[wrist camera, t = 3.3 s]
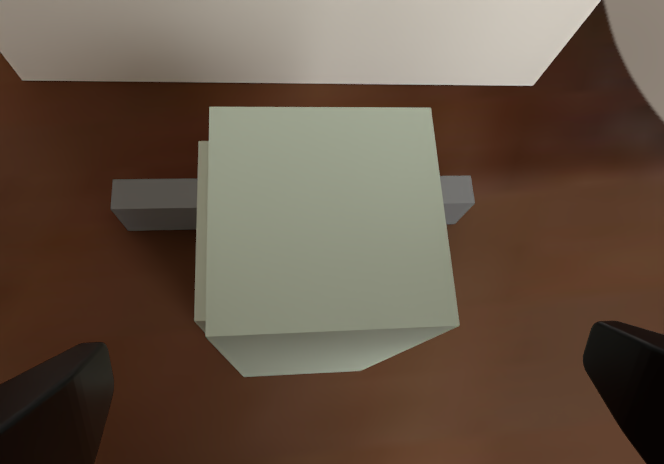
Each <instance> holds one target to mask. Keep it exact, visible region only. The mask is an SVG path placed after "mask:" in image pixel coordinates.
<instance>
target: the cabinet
mask: <svg viewBox="0 0 664 464" xmlns="http://www.w3.org/2000/svg"><path fill="white" fill-rule="evenodd" d="M194 321H195V323H196V324H197V325H198V326H199V327H200V328H201V329H202V330H203V331H204V332H205V337H206V338H207V339H208V340H209V341H210V342H211V343H212V344H213V345H214V346H215V347H216V349H217V350H218V351H219V352H220V353H221V354H222V355H223V356H224V357H225V358H226V359H227V360H228V361H229V362H230V363H231V364H232V365H233V366H234V367H235V368H236V369H237V370H238V371H239V373H240V374H241V375H242V376H243V377H254V376H272V375H291V374H310V373H329V372H348V371H361V370H363V369H366V368H368V367H370V366H372V365H374V364H377V363H379V362H381V361H383V360H385V359H388V358H390V357H392V356H394V355H396V354H399V353H401V352H403V351H405V350H407V349H410V348H412V347H414V346H416V345H418V344H420V343H423V342H425V341H427V340H429V339H431V338H434V337H436V336H438V335H440V334H442V333H445V332H447V331H449V330H451V329H453V328H456V327H458V326H460V325H459V317H458V310H457V302H456V294H455V287H454V279H453V272H452V264H451V257H450V249H449V242H448V234H447V227H446V219H445V211H444V204H443V196H442V189H441V181H440V174H439V166H438V159H437V151H436V143H435V136H434V128H433V121H432V113H431V108H373V107H209V141H199V142H198V183H197V224H196V265H195V305H194Z"/></svg>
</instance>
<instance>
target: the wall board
mask: <svg viewBox="0 0 664 464" xmlns="http://www.w3.org/2000/svg"><path fill="white" fill-rule="evenodd" d="M600 1H601V0H0V52H1V53H2V55H3V56H4V57H5V59H6V60H7V61H8V63H9V64H10V65H11V66H12V68H13V69H14V70H15V72H16V73H17V74H18V76H19V77H20V78H21V79H22V81H119V82H217V83H314V84H411V85H508V86H533V85H534V84H535V82H536V81H537V80H538V79H539V77H540V76H541V75H542V74H543V72H544V71H545V70H546V69H547V67H548V66H549V65H550V64H551V62H552V61H553V60H554V59H555V57H556V56H557V55H558V54H559V52H560V51H561V50H562V48H563V47H564V46H565V45H566V43H567V42H568V41H569V40H570V38H571V37H572V36H573V35H574V33H575V32H576V31H577V30H578V28H579V27H580V26H581V25H582V23H583V22H584V21H585V20H586V18H587V17H588V16H589V15H590V13H591V12H592V11H593V9H594V8H595V7H596V6H597V4H598V3H599V2H600ZM440 181H441V189H442V196H443V204H444V211H445V219H446V224H455V223H456V222H457V221H458V220H459V219H460V218H461V217H462V216H463V215H464V214H465V213H466V212H467V211H468V210H469V209H470V208H471V207H472V206H473V205H474V204H475V201H474V195H473V188H472V181H471V176H440ZM197 183H198V179H113V184H112V197H111V210H112V212H113V213H114V214H115V215H116V216H117V218H118V219H119V220H120V221H121V223H122V224H123V225H124V226H125V228H126V229H127V230H128V231H145V230H192V229H196V224H197Z"/></svg>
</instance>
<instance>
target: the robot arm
mask: <svg viewBox="0 0 664 464" xmlns="http://www.w3.org/2000/svg"><path fill="white" fill-rule="evenodd" d="M583 364H584V368H585V370H586V372H587V374H588V375H589V377H590V379H591V380H592V382H593V384H594V385H595V387H596V389H597V390H598V392H599V394H600V395H601V397H602V399H603V400H604V402H605V404H606V405H607V407H608V409H609V410H610V412H611V414H612V415H613V417H614V419H615V420H616V422H617V423H618V425H619V427H620V428H621V430H622V431H623V433H624V434H625V435H626V437H627V438H628V440H629V441H630V442H631V444H632V445H633V446H634V448H635V449H636V450H637V452H638V453H639V454H640V456H641V457H642V458H643V460H644V461H645V462H646V464H664V335H663V334H659V333H656V332H653V331H649V330H646V329H642V328H639V327H636V326H632V325H629V324H625V323H622V322H619V321H599V322H596V323H595V324H594V325H593V326H592V328H591V331H590V334H589V338H588V341H587V344H586V347H585V351H584V354H583ZM113 391H114V378H113V373H112V368H111V362H110V357H109V352H108V348H107V346H106V344H105V343H103V342H94V343H81V344H78V345H76V346H74V347H73V348H71V349H69V350H67V351H65V352H63V353H61V354H59V355H57V356H55V357H53V358H51V359H49V360H47V361H45V362H43V363H41V364H39V365H37V366H36V367H34V368H32V369H30V370H28V371H26V372H24V373H22V374H20V375H18V376H16V377H14V378H12V379H10V380H8V381H6V382H4V383H2V384H0V464H94V462H95V459H96V456H97V452H98V448H99V445H100V441H101V437H102V434H103V430H104V426H105V422H106V419H107V415H108V411H109V408H110V404H111V400H112V396H113Z"/></svg>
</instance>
